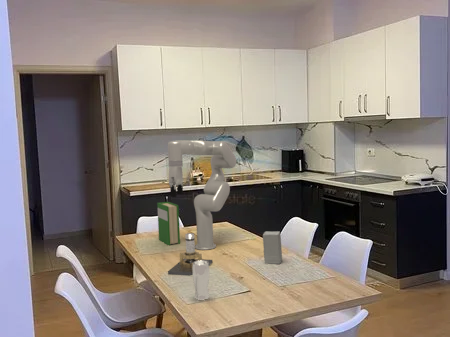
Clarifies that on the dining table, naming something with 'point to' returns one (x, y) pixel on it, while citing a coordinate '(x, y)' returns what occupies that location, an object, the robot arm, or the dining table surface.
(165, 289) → the dining table surface
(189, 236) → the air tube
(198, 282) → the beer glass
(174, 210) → the hardback book
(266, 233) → the skincare box
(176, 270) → the collar stand
